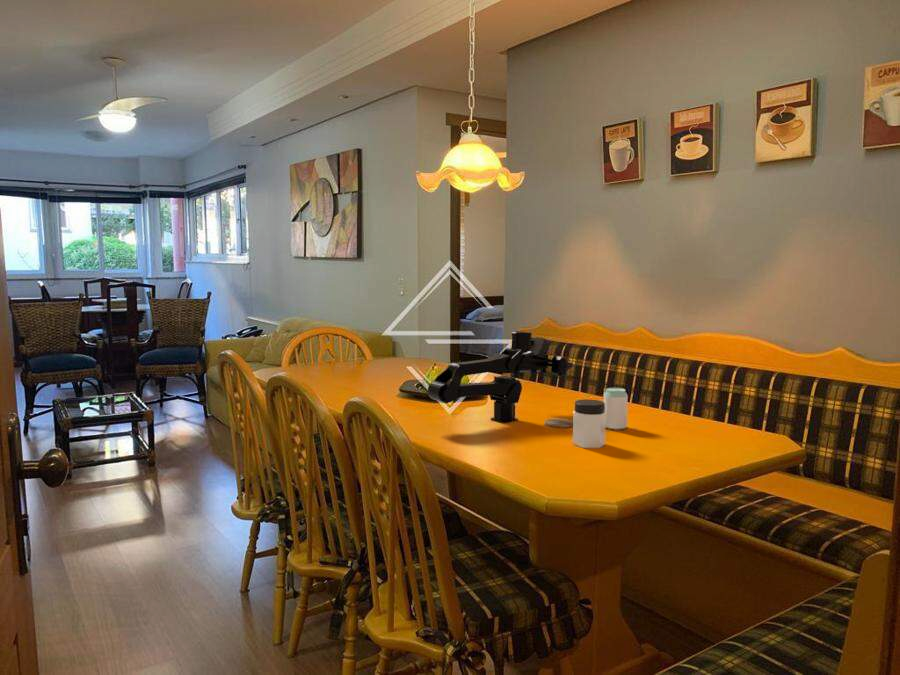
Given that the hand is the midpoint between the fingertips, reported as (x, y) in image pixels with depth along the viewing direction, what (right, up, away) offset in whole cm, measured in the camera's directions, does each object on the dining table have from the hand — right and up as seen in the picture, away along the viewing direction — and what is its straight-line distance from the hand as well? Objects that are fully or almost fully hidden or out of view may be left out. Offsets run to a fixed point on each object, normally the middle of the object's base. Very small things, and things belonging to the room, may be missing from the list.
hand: (563, 362), depth 229 cm
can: (+12, -19, -22) cm, 32 cm away
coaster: (-4, -18, -17) cm, 26 cm away
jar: (0, -21, -41) cm, 46 cm away
